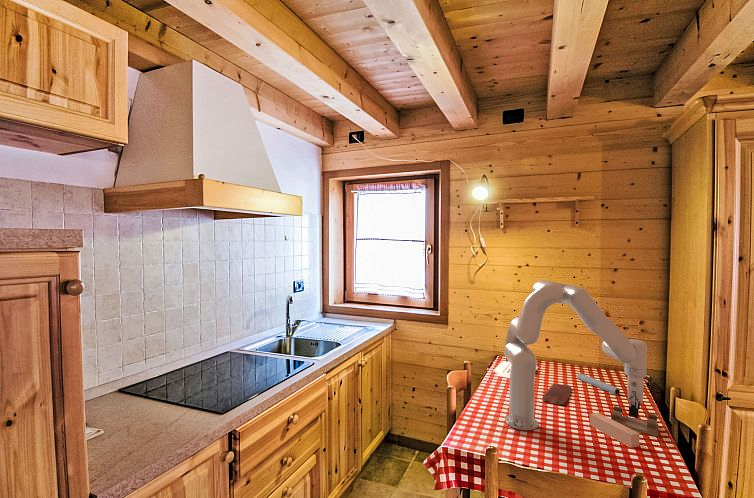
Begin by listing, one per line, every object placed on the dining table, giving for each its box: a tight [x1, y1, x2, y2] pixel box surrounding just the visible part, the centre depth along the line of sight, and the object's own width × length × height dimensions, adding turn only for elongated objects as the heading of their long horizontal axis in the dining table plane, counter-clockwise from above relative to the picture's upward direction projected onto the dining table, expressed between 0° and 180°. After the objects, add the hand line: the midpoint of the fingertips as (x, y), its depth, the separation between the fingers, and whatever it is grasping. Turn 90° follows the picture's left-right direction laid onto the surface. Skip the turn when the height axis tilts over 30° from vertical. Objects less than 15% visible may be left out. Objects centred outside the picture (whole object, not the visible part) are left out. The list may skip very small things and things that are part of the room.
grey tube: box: [577, 372, 621, 396], centre depth 201 cm, size 23×7×3 cm, turn 19°
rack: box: [610, 405, 659, 437], centre depth 159 cm, size 10×16×4 cm, turn 53°
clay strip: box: [589, 412, 641, 448], centre depth 152 cm, size 4×18×5 cm, turn 19°
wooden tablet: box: [542, 383, 572, 406], centre depth 190 cm, size 27×10×2 cm, turn 145°
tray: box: [492, 360, 539, 379], centre depth 224 cm, size 20×28×4 cm
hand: (634, 412), depth 159 cm, fingers open, 9 cm apart
